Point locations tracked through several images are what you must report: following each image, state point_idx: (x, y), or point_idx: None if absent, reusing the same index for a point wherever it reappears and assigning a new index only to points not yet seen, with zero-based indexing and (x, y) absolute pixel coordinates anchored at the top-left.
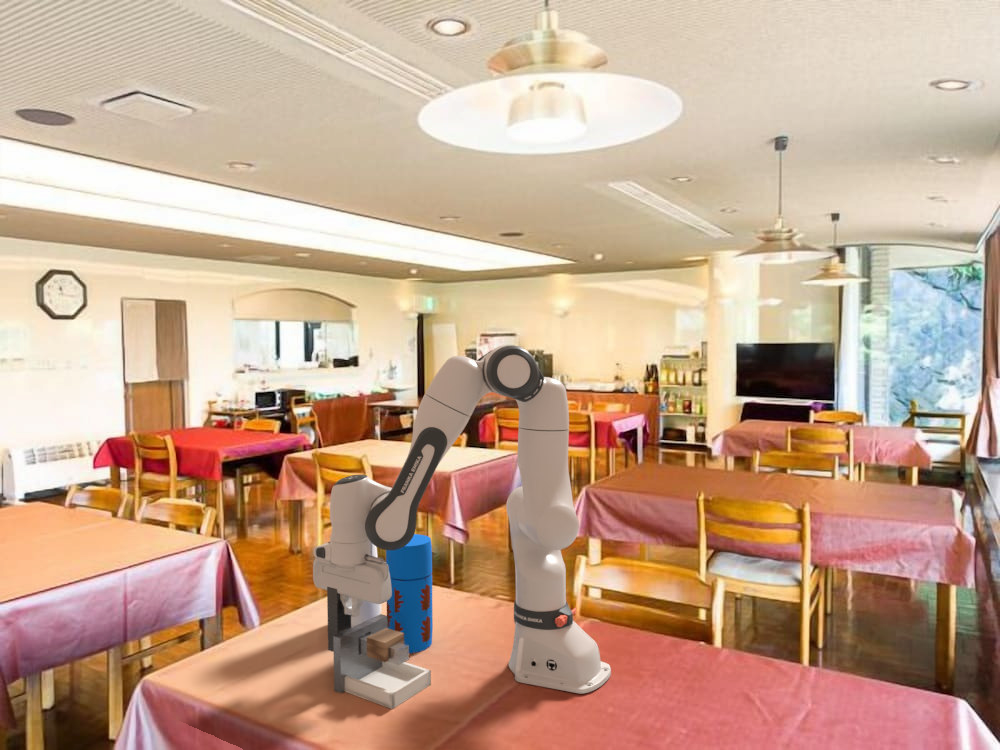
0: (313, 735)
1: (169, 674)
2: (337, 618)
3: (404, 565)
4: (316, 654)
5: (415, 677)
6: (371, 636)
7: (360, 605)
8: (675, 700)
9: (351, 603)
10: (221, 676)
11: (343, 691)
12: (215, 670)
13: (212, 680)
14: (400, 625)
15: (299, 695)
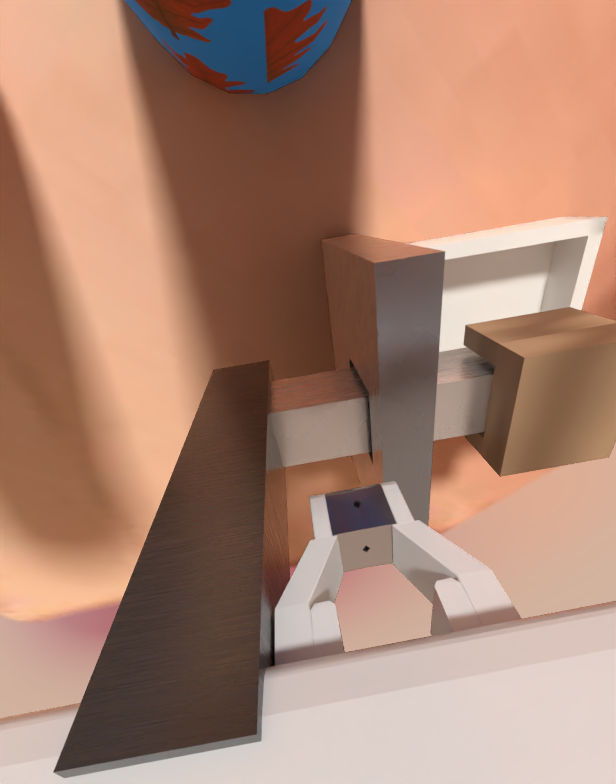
0: (442, 520)
1: (11, 601)
2: (286, 531)
3: None
4: (83, 350)
5: (574, 296)
6: (515, 461)
7: (434, 534)
8: None
9: (334, 548)
10: (85, 550)
11: None
12: (41, 550)
13: (96, 563)
14: (308, 8)
15: (296, 483)
